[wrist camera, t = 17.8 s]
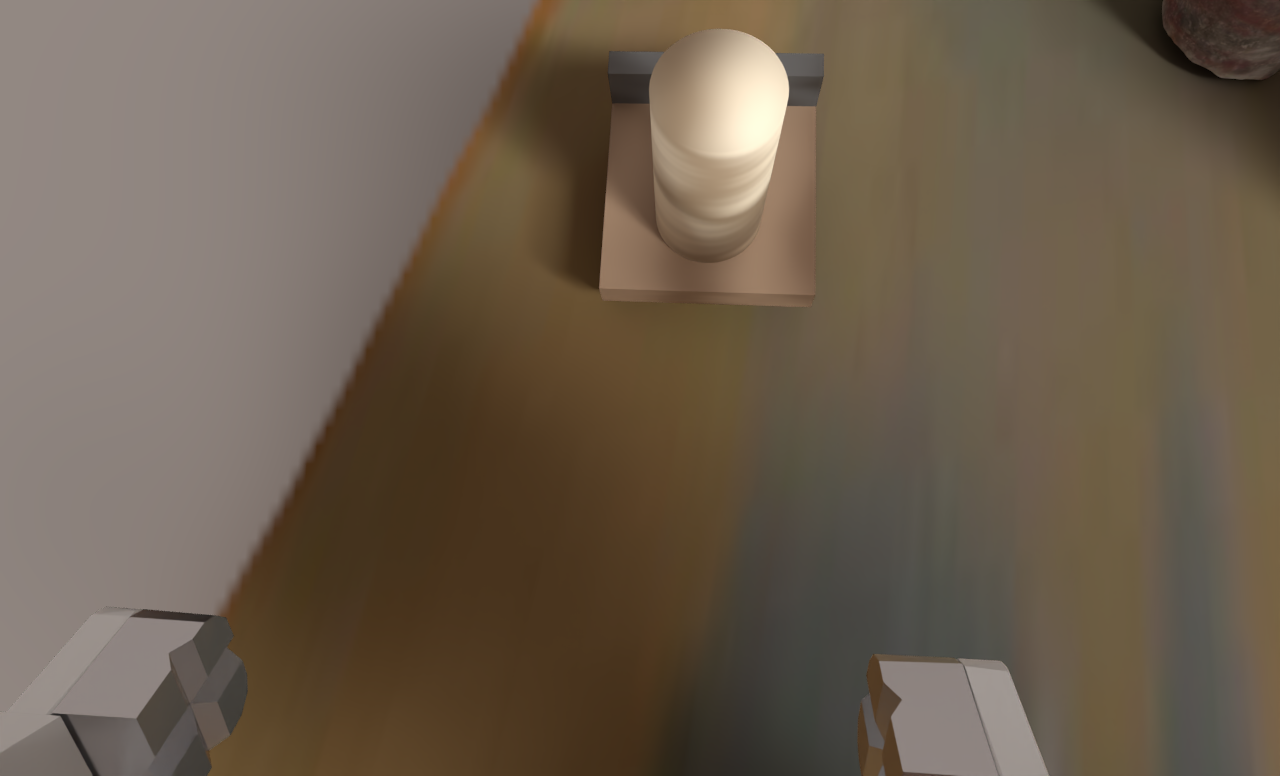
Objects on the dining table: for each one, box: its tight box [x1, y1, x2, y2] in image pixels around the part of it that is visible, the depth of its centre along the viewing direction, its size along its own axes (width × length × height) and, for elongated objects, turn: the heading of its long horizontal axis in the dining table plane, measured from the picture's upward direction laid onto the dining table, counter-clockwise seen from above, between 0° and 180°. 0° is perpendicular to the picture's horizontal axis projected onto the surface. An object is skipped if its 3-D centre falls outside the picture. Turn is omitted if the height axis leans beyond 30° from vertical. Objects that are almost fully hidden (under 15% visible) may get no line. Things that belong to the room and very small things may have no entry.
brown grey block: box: [599, 51, 824, 307], centre depth 41 cm, size 10×11×6 cm
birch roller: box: [649, 29, 789, 263], centre depth 35 cm, size 5×5×10 cm
